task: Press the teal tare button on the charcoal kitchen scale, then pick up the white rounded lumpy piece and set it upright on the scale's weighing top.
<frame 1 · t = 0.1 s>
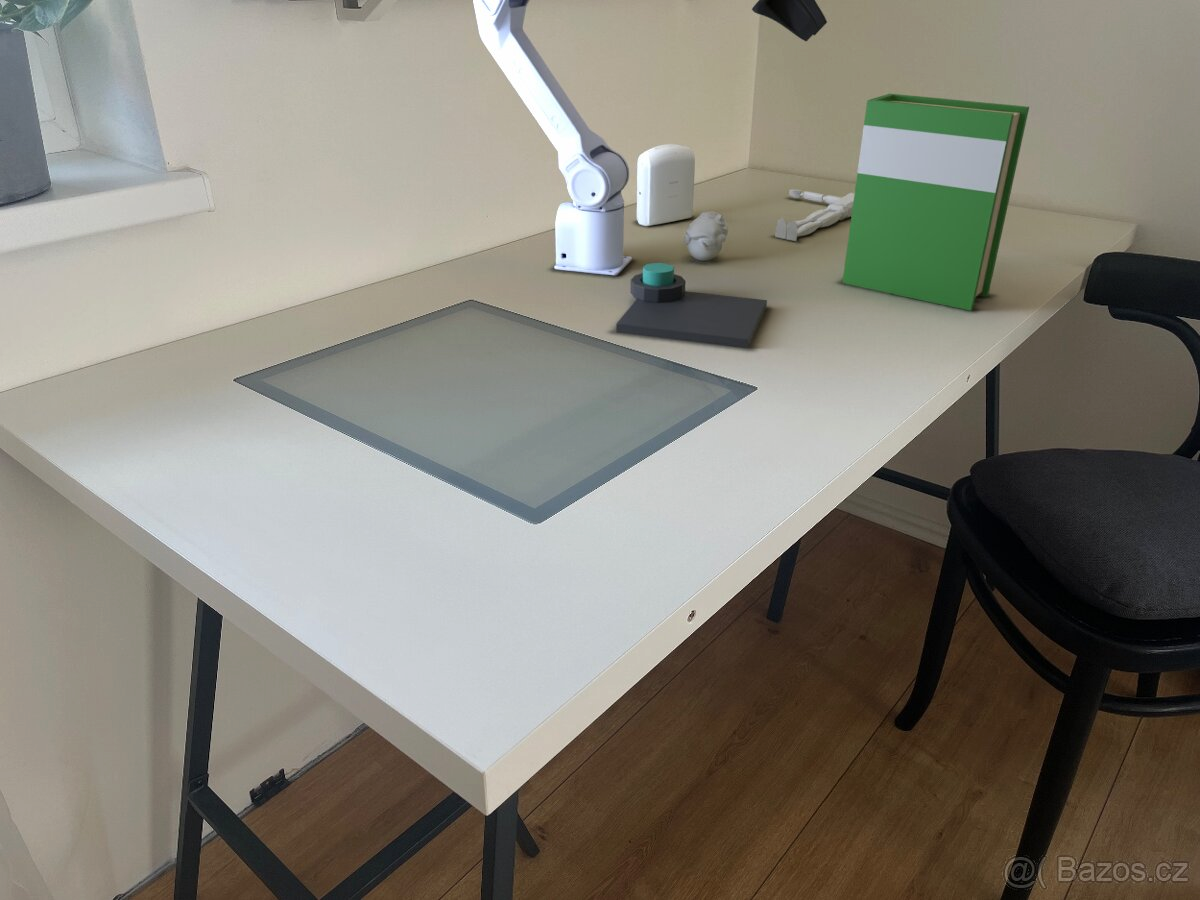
hand: (817, 31, 111), 32 cm above the table, tool tilted 50°, fingers open, 7 cm apart
photo printer: (664, 221, 156), on the table
scale: (693, 320, 115), on the table
hardback book: (913, 290, 126), on the table
artist's mannequin: (832, 222, 156), on the table
white rounded lumpy piece: (704, 260, 137), on the table
tare button: (658, 275, 119), point 4 cm above the table, slide at 0.1 cm
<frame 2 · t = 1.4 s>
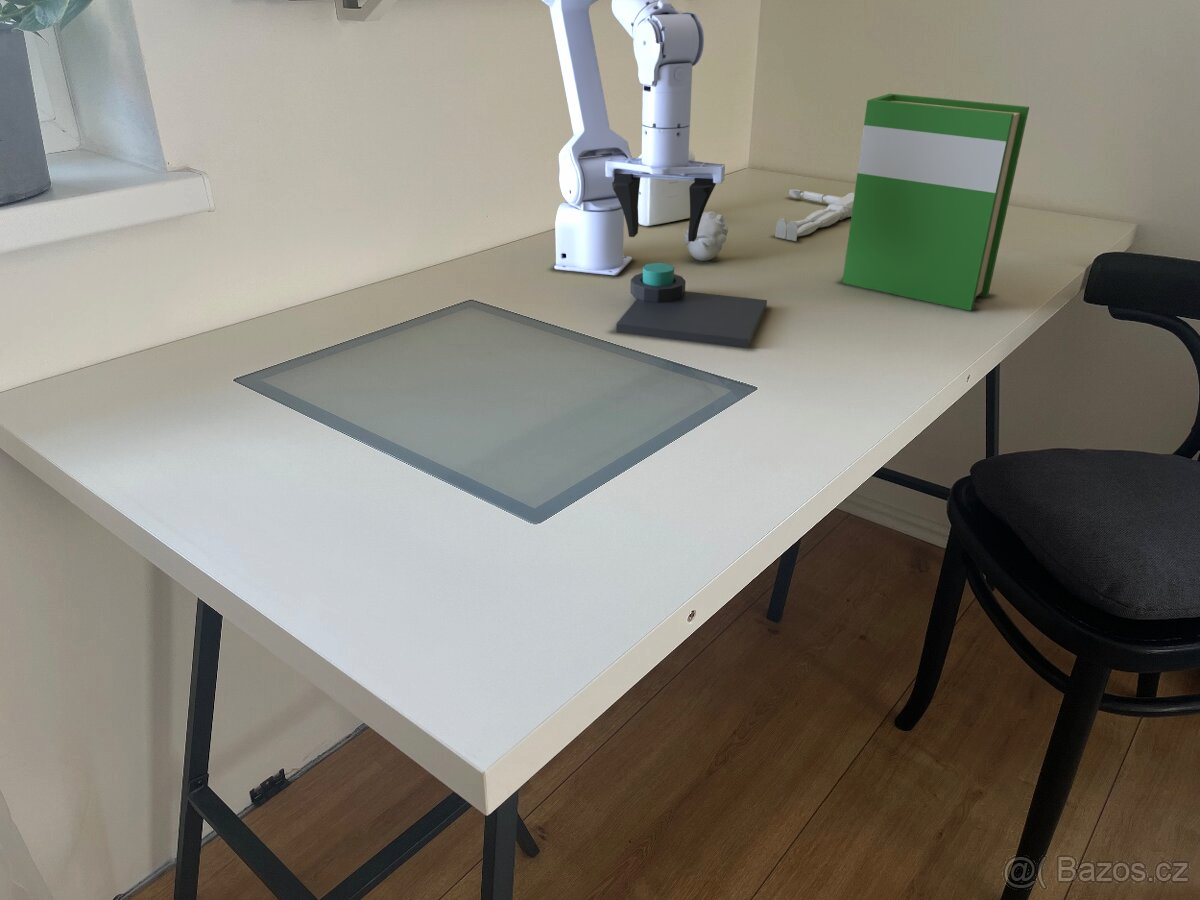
hand: (662, 237, 117), 9 cm above the table, tool pointing down, fingers open, 7 cm apart
nothing on the table moved.
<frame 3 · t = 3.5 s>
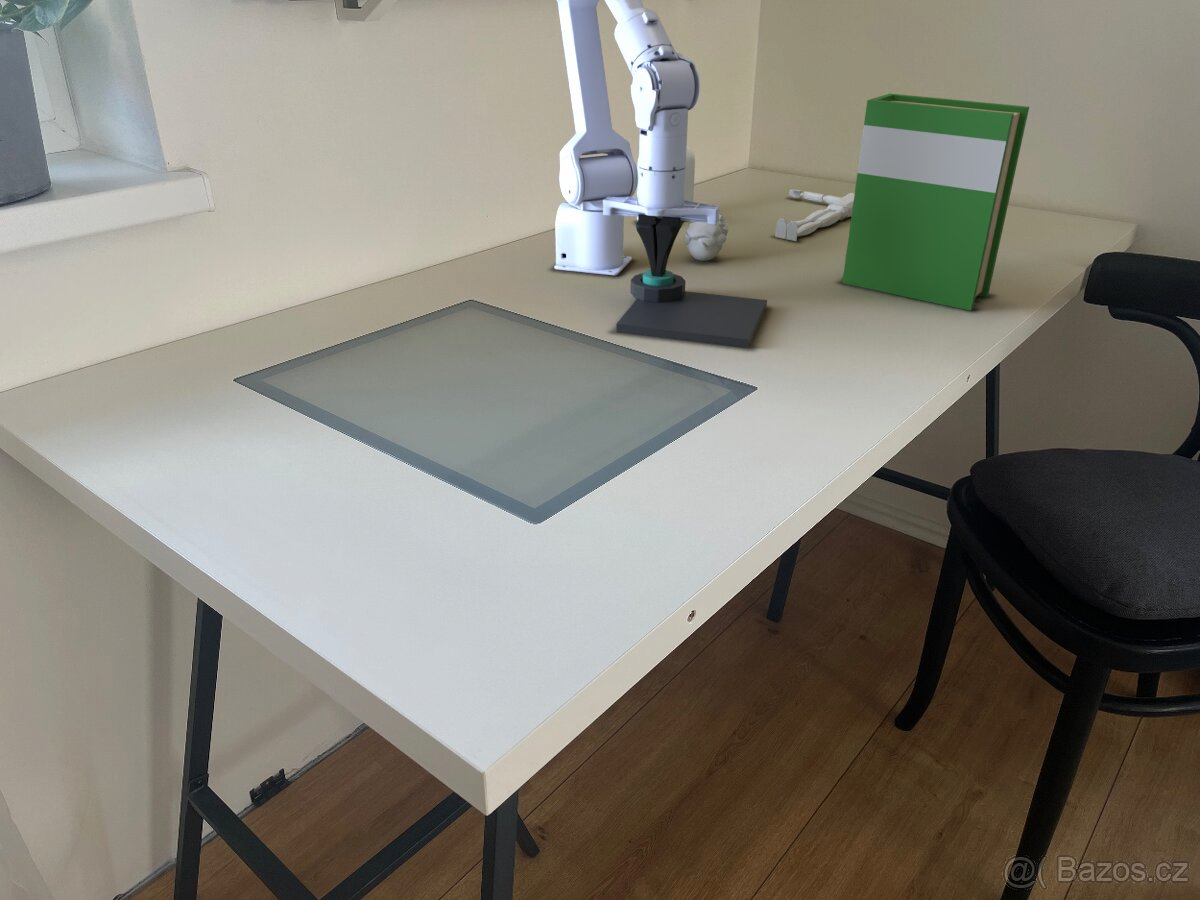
hand: (658, 274, 119), 4 cm above the table, tool pointing down, fingers closed, pressing on tare button
tare button: (658, 281, 120), point 3 cm above the table, slide at -0.7 cm, touching gripper
everything else where it was.
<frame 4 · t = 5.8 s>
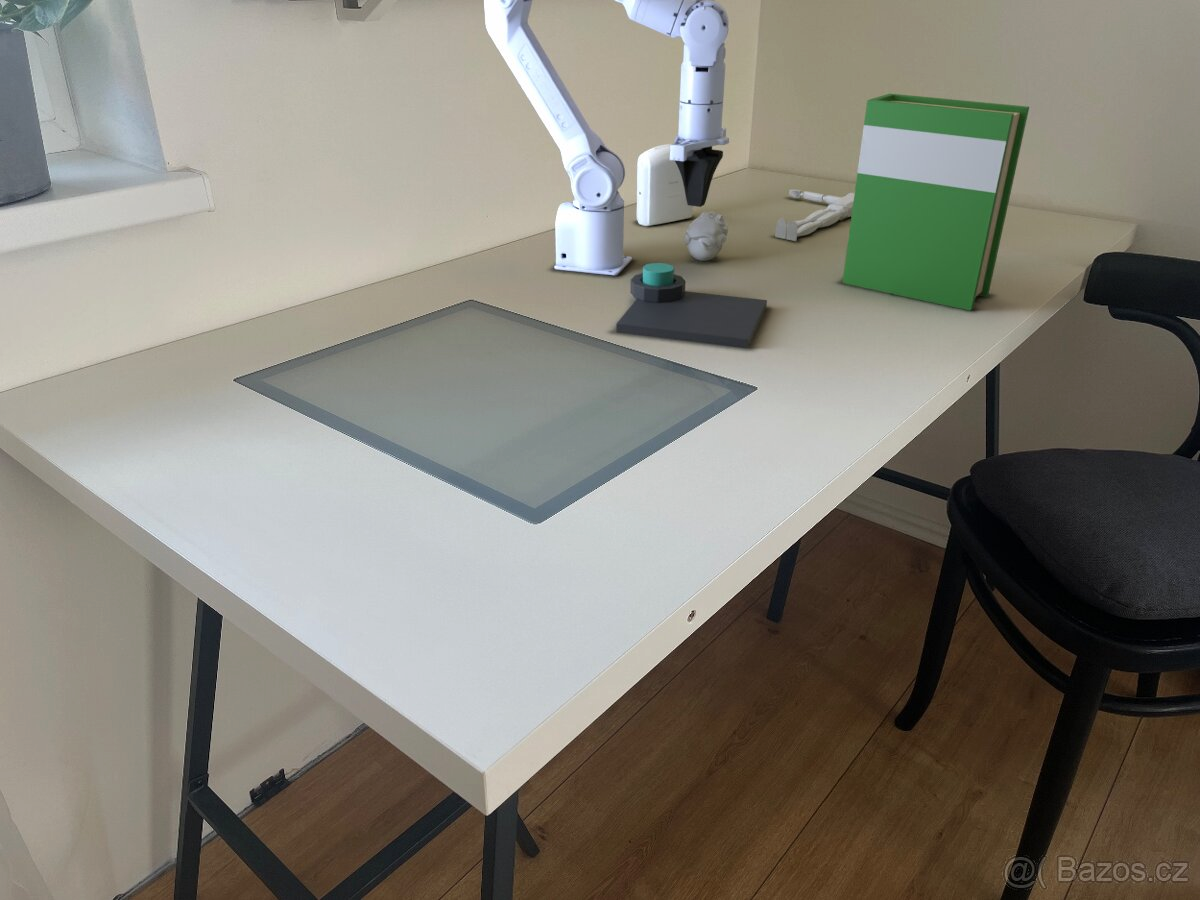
hand: (695, 205, 128), 9 cm above the table, tool pointing down, fingers closed
tare button: (658, 275, 119), point 4 cm above the table, slide at 0.1 cm
everything else where it was.
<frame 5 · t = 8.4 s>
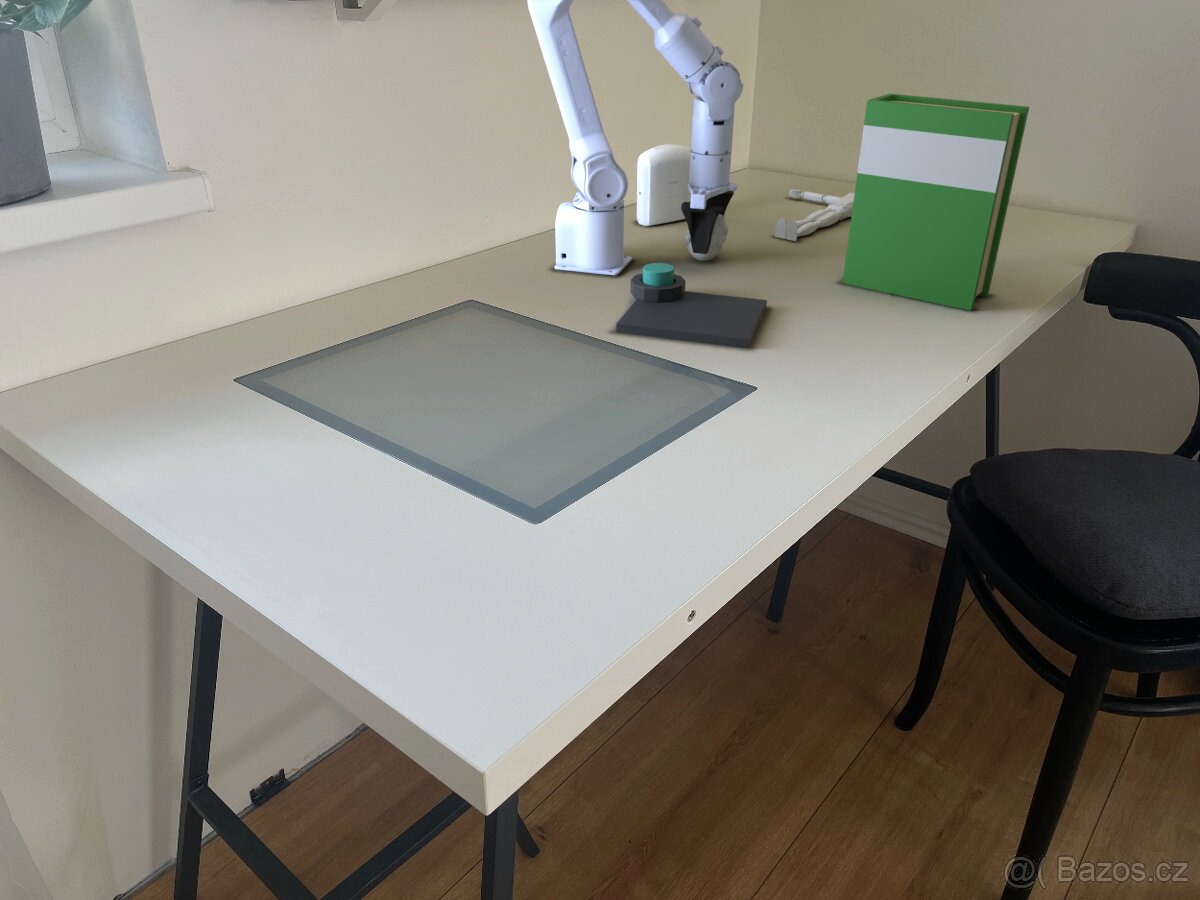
hand: (705, 246, 136), 2 cm above the table, tool pointing down, fingers closed on white rounded lumpy piece, 6 cm apart
white rounded lumpy piece: (704, 260, 137), on the table, touching gripper
everything else where it was.
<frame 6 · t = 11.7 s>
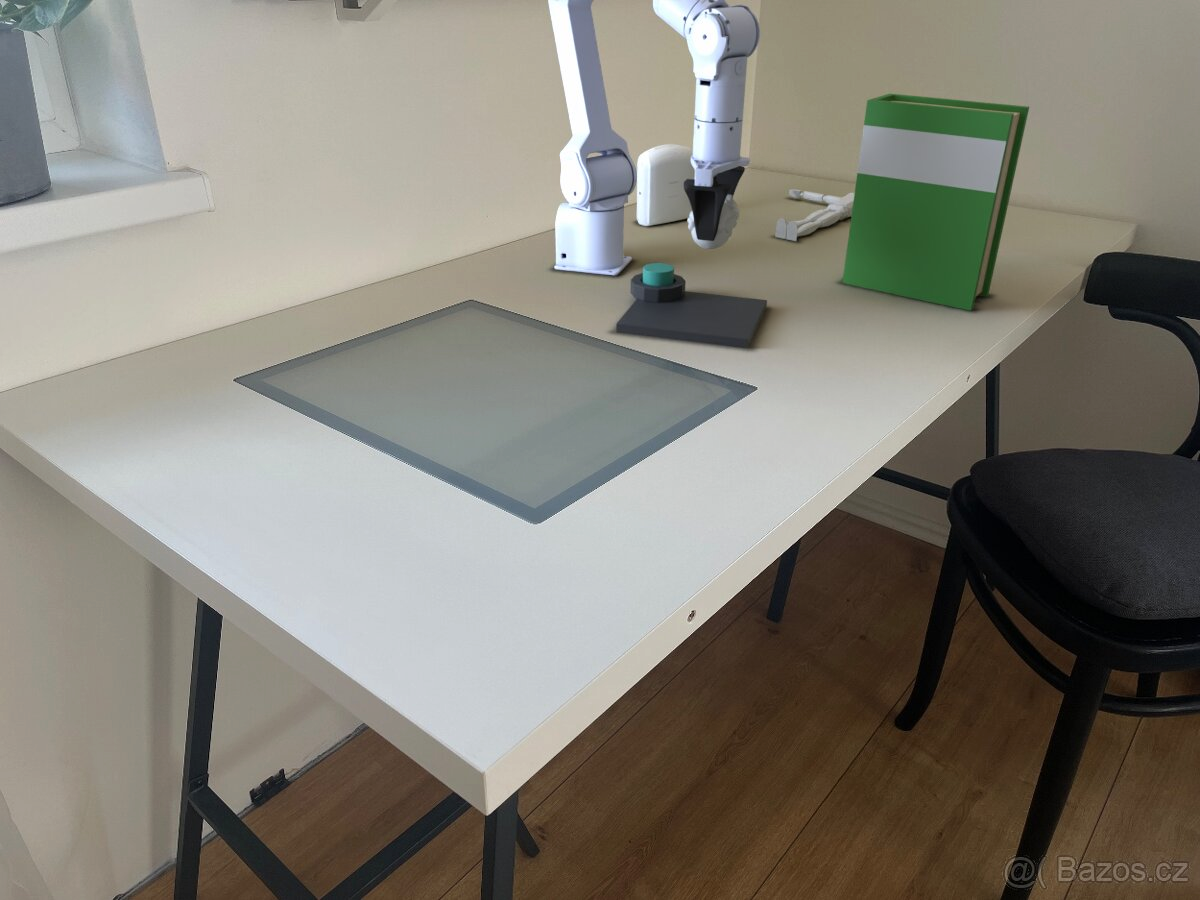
hand: (711, 232, 116), 9 cm above the table, tool pointing down, fingers closed on white rounded lumpy piece, 6 cm apart
white rounded lumpy piece: (711, 249, 117), point 7 cm above the table, touching gripper
everything else where it was.
when the fingers open (3 cm above the table, at t = 15.0 s): white rounded lumpy piece stays where it is, resting on scale.
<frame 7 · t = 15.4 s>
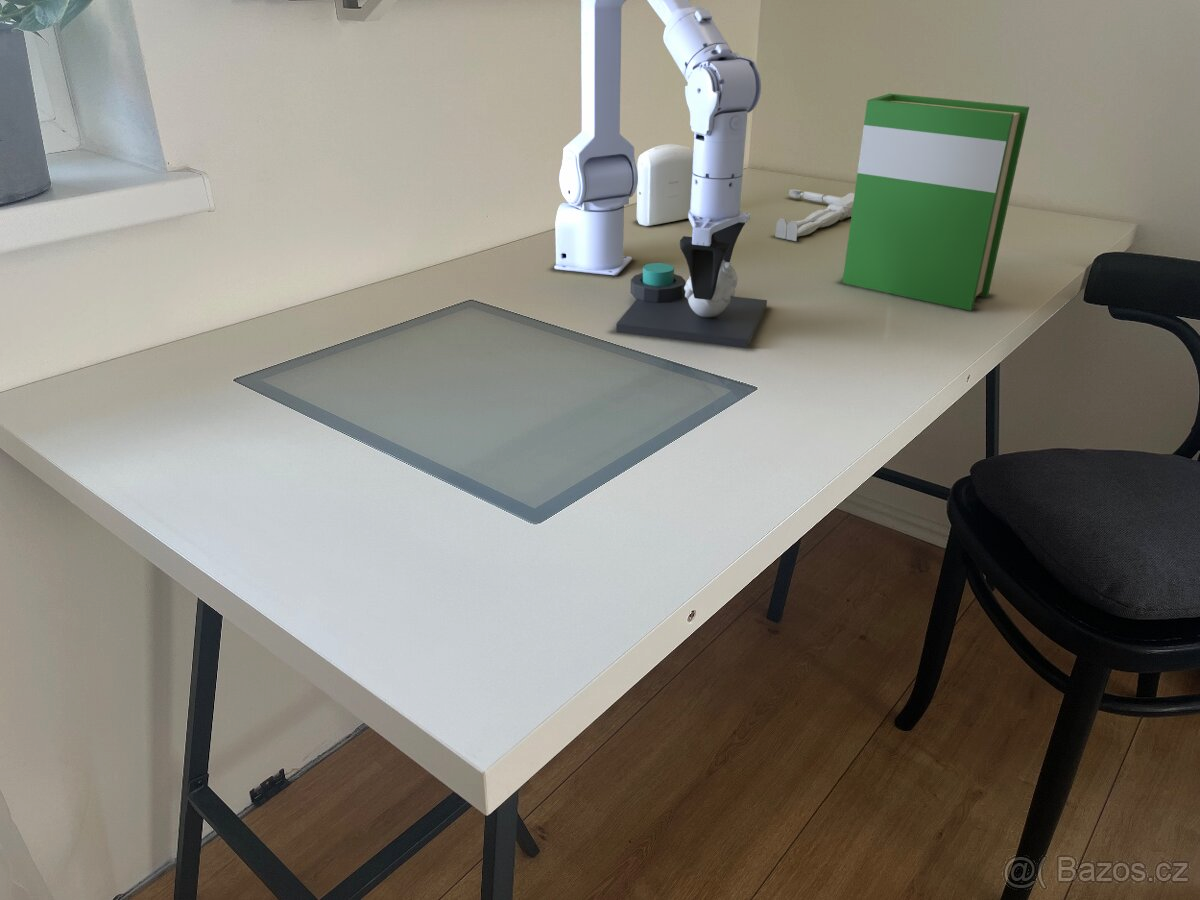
hand: (710, 288, 112), 5 cm above the table, tool pointing down, fingers open, 7 cm apart
white rounded lumpy piece: (708, 317, 114), point 1 cm above the table, touching scale
everything else where it was.
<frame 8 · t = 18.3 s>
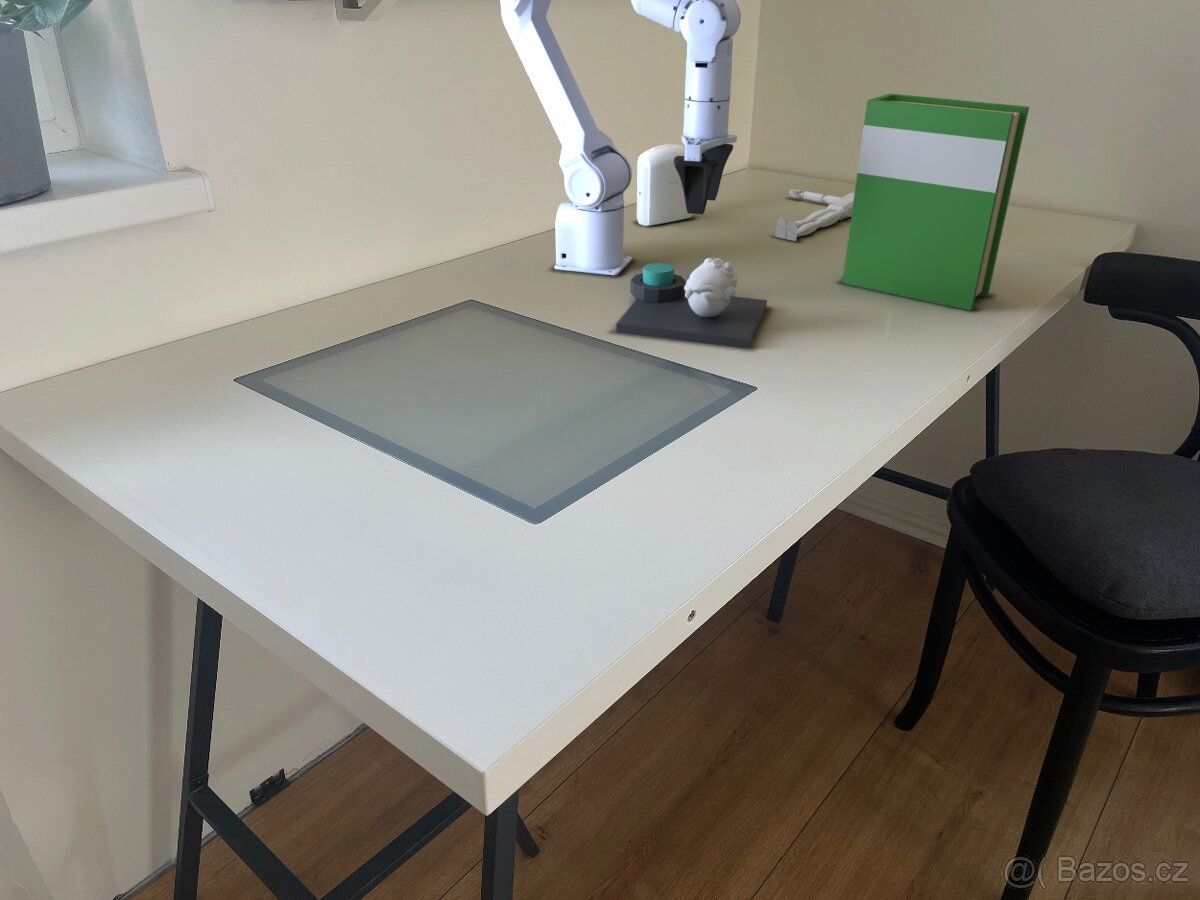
hand: (701, 206, 124), 10 cm above the table, tool pointing down, fingers open, 7 cm apart
nothing on the table moved.
at the end: tare button pushed in 1.2 cm at the most during the clip, back to where it started at the end; white rounded lumpy piece inside the target area on the scale (0.3 cm from its centre), point 1.0 cm above the scale's base; white rounded lumpy piece tilted 0° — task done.
